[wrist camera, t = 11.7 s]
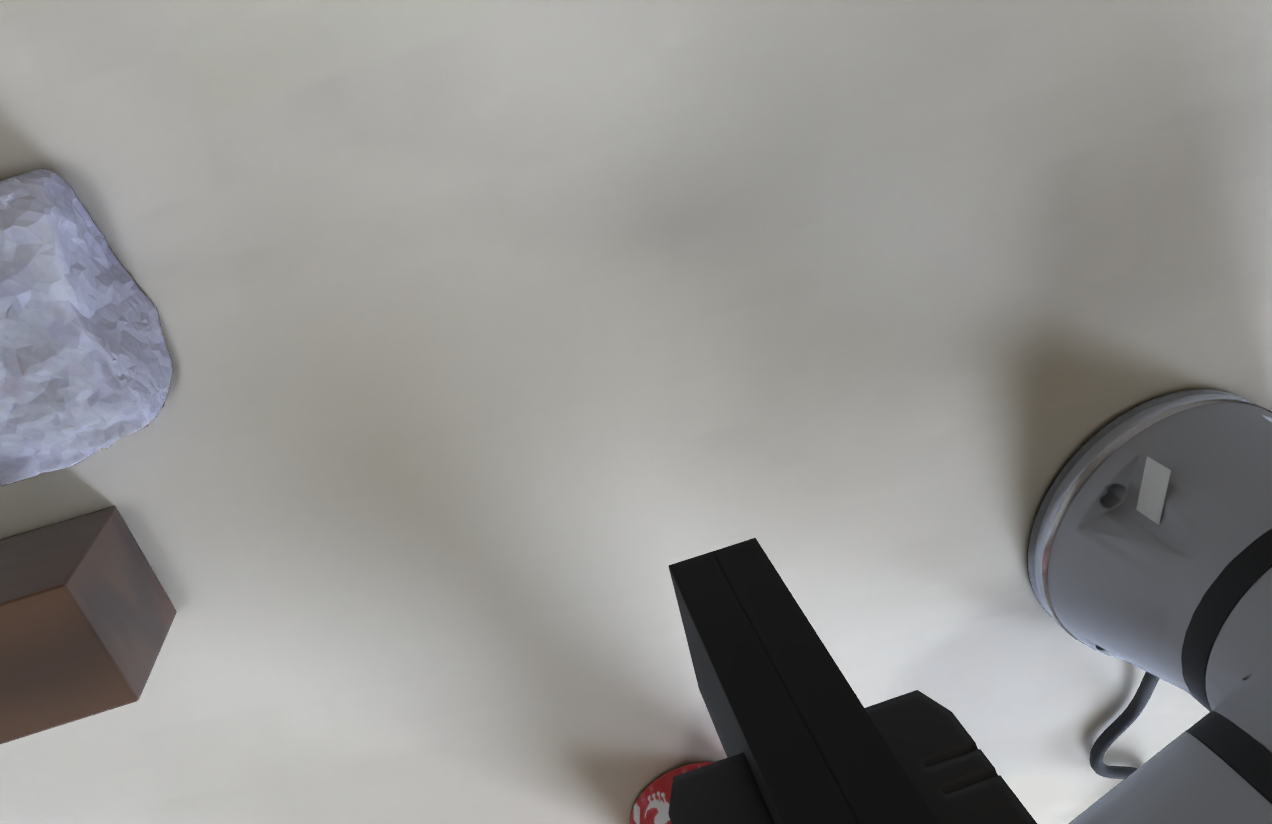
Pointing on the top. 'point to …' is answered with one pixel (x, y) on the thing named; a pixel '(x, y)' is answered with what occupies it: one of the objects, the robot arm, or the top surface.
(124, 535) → the walnut block
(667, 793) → the mug
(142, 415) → the stone block
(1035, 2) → the top surface
